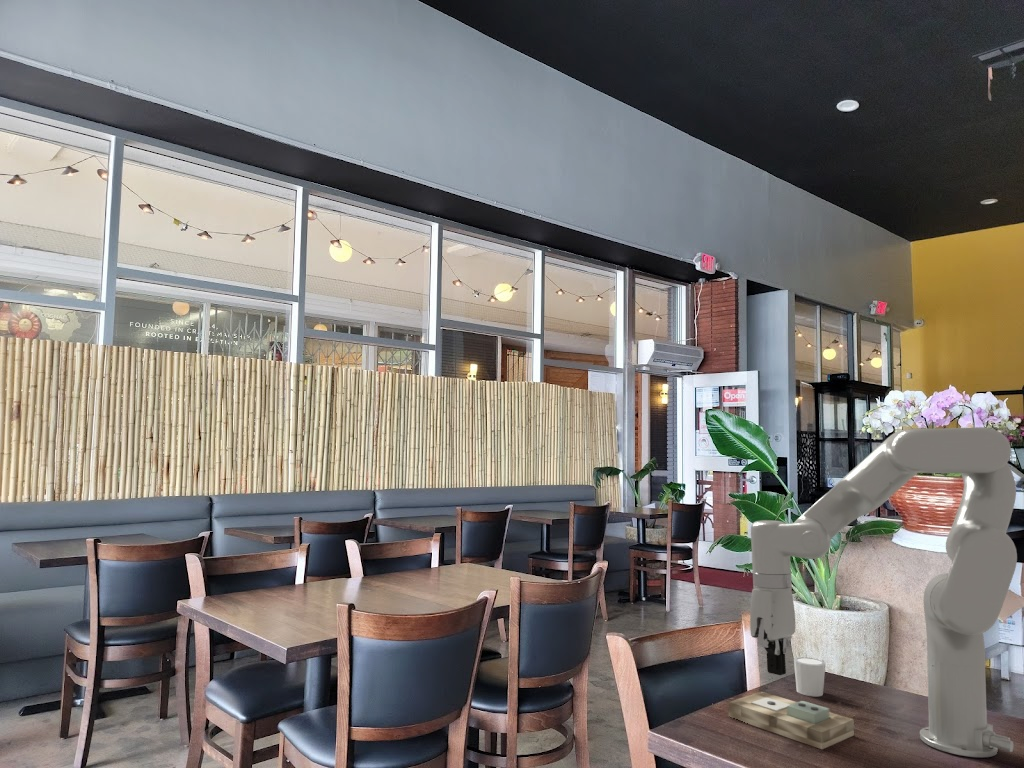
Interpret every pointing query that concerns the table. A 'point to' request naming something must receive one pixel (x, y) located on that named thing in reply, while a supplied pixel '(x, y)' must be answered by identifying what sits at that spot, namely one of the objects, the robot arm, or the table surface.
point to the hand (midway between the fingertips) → (776, 673)
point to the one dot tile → (770, 704)
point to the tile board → (791, 722)
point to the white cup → (809, 676)
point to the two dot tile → (808, 712)
